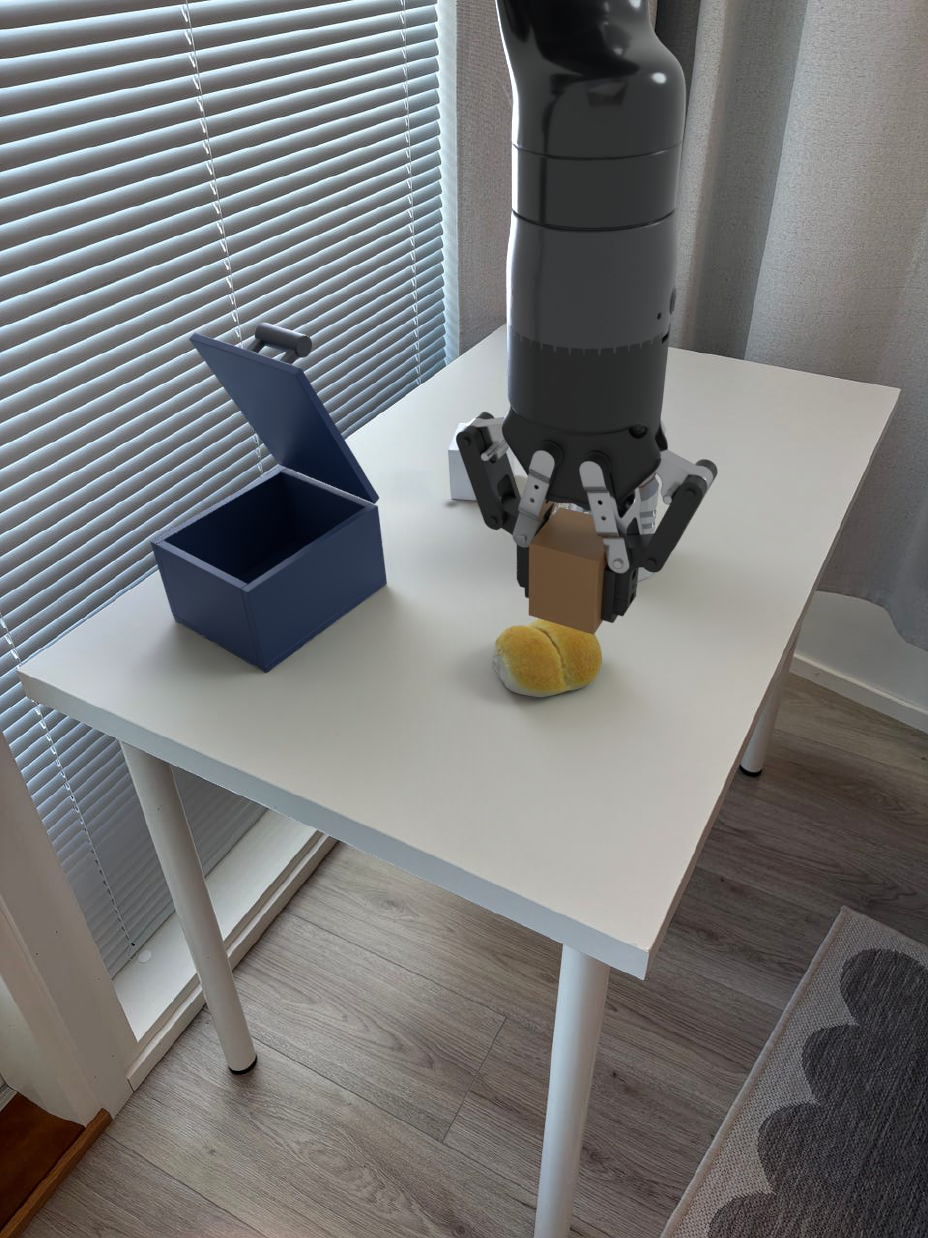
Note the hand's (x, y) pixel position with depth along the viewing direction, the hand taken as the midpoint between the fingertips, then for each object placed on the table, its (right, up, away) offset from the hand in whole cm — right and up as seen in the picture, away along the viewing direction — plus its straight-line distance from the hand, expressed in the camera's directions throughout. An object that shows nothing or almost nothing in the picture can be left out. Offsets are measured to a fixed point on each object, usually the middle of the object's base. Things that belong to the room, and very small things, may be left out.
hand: (575, 601), depth 54 cm
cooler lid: (-22, +16, +27) cm, 38 cm away
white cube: (-4, +13, +50) cm, 52 cm away
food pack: (0, 0, 0) cm, 0 cm away
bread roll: (+1, -5, +26) cm, 27 cm away
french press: (+7, +5, +38) cm, 39 cm away
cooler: (-24, +1, +35) cm, 42 cm away
